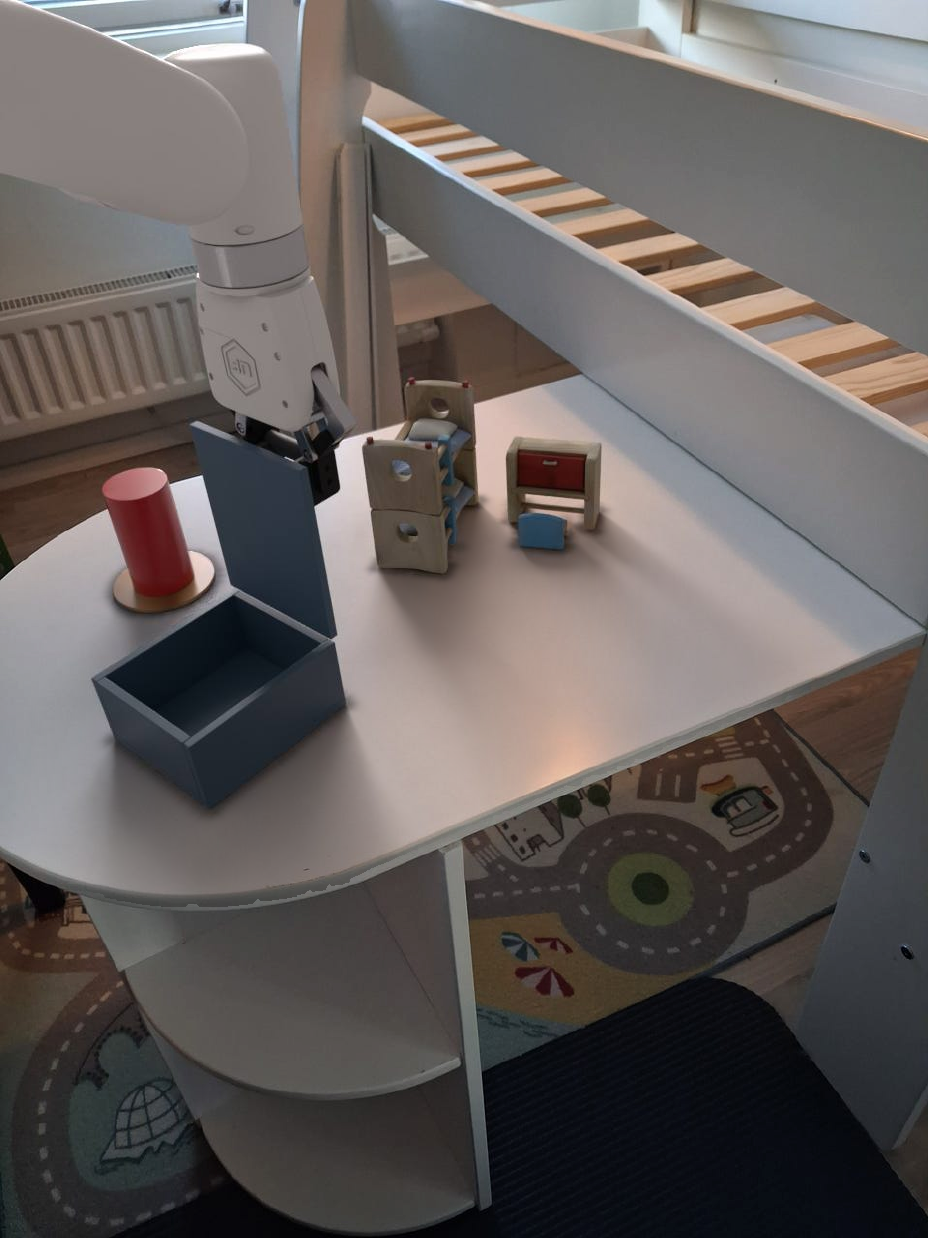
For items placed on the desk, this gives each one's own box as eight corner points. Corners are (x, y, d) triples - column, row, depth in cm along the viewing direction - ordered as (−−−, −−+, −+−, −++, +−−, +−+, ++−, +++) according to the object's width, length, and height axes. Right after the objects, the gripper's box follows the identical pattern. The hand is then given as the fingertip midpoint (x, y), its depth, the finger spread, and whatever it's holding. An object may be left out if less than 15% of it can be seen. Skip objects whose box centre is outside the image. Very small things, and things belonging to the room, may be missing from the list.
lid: (299, 471, 69) (353, 440, 72) (188, 424, 76) (243, 397, 79) (330, 640, 79) (377, 606, 82) (230, 585, 85) (277, 555, 89)
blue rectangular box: (209, 810, 75) (188, 748, 71) (114, 739, 82) (90, 678, 78) (346, 703, 83) (335, 642, 79) (250, 646, 90) (234, 587, 86)
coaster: (128, 625, 94) (127, 622, 94) (103, 574, 101) (102, 571, 100) (228, 589, 97) (228, 586, 97) (197, 542, 104) (196, 539, 104)
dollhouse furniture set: (577, 589, 94) (579, 458, 85) (377, 567, 99) (359, 441, 90) (599, 509, 105) (603, 385, 96) (417, 493, 109) (405, 374, 101)
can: (142, 604, 96) (110, 507, 89) (126, 574, 100) (94, 479, 93) (202, 583, 98) (175, 487, 91) (184, 554, 102) (157, 460, 95)
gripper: (132, 250, 69) (191, 475, 81) (296, 297, 60) (337, 543, 72) (216, 221, 74) (261, 438, 85) (381, 261, 65) (407, 498, 76)
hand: (295, 484), depth 78 cm, fingers closed on lid, 5 cm apart
